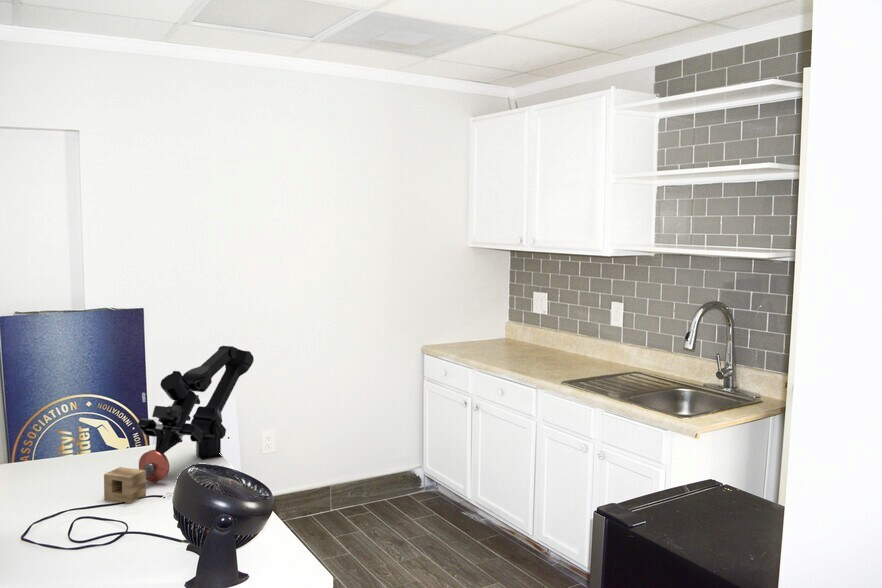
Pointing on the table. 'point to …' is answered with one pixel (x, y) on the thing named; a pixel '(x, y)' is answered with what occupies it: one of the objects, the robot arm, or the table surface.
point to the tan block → (124, 485)
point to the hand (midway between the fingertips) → (156, 456)
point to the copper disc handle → (154, 465)
